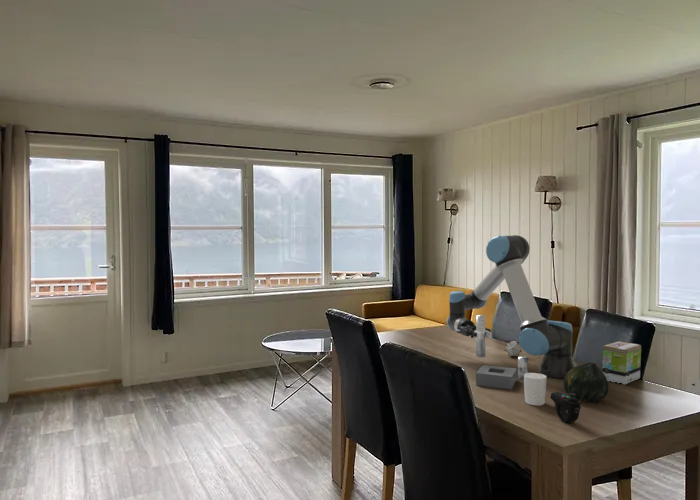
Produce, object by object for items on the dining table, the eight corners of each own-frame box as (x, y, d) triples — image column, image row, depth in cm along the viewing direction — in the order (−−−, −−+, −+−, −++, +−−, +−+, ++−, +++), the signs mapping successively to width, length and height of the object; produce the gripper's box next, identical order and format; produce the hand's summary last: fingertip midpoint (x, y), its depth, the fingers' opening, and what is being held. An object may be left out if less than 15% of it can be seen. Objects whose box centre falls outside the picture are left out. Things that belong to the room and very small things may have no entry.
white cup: (547, 406, 189) (548, 379, 189) (524, 405, 191) (525, 378, 190) (544, 400, 197) (544, 373, 196) (522, 398, 198) (522, 372, 198)
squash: (556, 377, 207) (567, 354, 197) (595, 379, 207) (608, 356, 196) (565, 410, 197) (577, 388, 187) (606, 412, 197) (620, 390, 186)
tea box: (626, 385, 215) (627, 349, 214) (601, 380, 223) (601, 345, 222) (640, 378, 225) (641, 344, 224) (616, 373, 232) (617, 340, 232)
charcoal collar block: (516, 380, 222) (516, 368, 222) (511, 389, 210) (511, 376, 210) (482, 376, 228) (482, 364, 228) (475, 385, 216) (476, 373, 215)
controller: (571, 428, 169) (571, 397, 169) (548, 414, 181) (548, 385, 181) (583, 426, 170) (583, 395, 170) (559, 413, 182) (559, 385, 182)
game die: (510, 364, 263) (499, 348, 262) (512, 354, 271) (501, 339, 270) (526, 357, 259) (515, 341, 258) (527, 348, 266) (516, 332, 265)
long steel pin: (486, 355, 235) (486, 315, 234) (484, 357, 231) (484, 316, 231) (477, 355, 236) (477, 314, 236) (475, 357, 233) (475, 316, 232)
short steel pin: (528, 377, 227) (528, 356, 226) (527, 379, 223) (527, 358, 223) (518, 376, 228) (518, 355, 228) (517, 378, 225) (517, 357, 224)
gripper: (481, 334, 253) (504, 343, 230) (447, 335, 250) (467, 345, 227) (481, 318, 253) (504, 326, 229) (447, 319, 250) (467, 328, 226)
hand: (486, 336), depth 228 cm, fingers closed on long steel pin, 4 cm apart
